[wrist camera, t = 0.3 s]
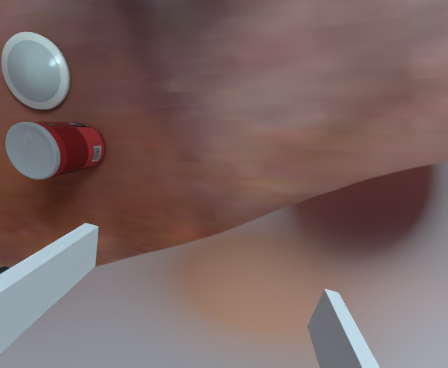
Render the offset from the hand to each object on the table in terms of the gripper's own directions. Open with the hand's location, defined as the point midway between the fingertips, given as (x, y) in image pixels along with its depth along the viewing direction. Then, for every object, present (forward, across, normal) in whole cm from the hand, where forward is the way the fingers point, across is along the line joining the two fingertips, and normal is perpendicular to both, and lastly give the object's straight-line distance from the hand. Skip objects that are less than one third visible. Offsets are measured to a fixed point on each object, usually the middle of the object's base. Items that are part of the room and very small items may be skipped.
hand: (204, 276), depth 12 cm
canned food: (+28, -28, -2) cm, 39 cm away
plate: (+27, -38, +9) cm, 47 cm away
